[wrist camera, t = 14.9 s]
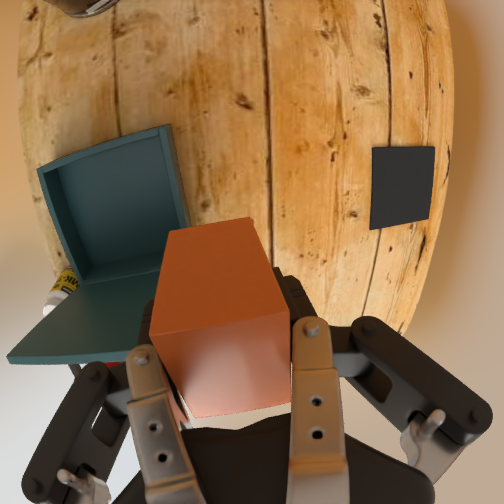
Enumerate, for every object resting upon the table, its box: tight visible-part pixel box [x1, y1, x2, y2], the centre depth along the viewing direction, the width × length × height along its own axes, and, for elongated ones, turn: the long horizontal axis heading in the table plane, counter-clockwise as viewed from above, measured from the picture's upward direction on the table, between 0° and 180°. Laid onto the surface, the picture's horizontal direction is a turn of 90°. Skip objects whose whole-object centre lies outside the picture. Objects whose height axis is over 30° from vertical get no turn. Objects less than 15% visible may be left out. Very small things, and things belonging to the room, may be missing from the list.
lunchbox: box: [36, 124, 192, 286], centre depth 29 cm, size 16×16×4 cm
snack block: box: [149, 217, 291, 418], centre depth 12 cm, size 5×4×7 cm
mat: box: [370, 147, 435, 230], centre depth 36 cm, size 12×12×1 cm
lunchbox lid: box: [6, 271, 160, 381], centre depth 23 cm, size 16×16×5 cm
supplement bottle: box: [43, 267, 80, 317], centre depth 31 cm, size 5×5×8 cm
